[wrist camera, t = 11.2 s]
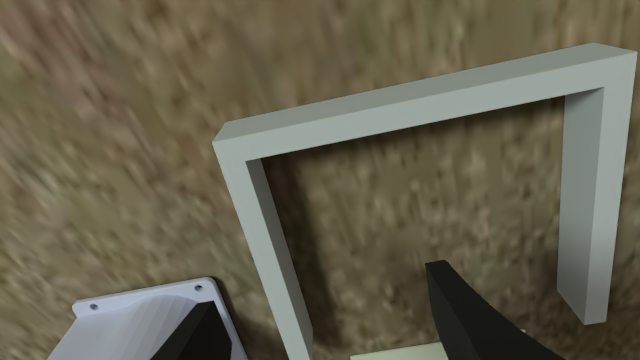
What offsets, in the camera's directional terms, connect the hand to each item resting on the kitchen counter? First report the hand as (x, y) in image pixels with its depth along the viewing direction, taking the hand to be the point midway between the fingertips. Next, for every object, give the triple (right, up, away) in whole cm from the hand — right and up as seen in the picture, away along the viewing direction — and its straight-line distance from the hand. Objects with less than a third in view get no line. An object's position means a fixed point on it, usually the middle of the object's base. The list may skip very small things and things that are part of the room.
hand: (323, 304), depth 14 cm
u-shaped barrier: (+6, +2, +10) cm, 12 cm away
